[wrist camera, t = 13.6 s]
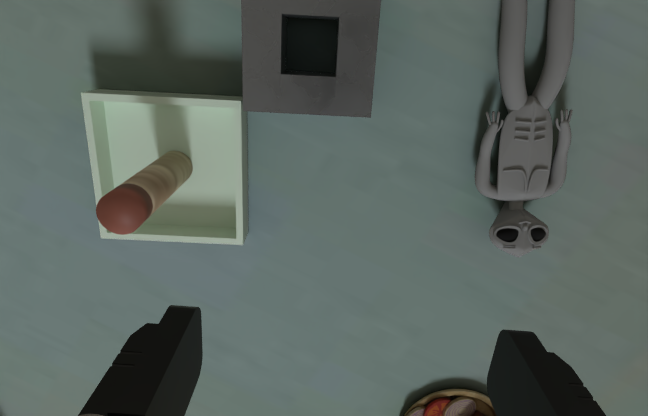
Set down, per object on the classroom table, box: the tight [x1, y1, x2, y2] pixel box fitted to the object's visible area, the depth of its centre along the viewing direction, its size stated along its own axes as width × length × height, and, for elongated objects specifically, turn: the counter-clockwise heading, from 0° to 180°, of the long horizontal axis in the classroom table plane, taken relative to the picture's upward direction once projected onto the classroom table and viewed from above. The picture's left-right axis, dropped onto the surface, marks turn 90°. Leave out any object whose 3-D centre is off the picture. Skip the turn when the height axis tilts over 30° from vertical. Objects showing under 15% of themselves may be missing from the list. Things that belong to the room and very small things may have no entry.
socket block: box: [241, 0, 381, 118], centre depth 35 cm, size 10×10×5 cm
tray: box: [81, 89, 248, 245], centre depth 40 cm, size 13×13×3 cm
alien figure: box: [475, 0, 575, 257], centre depth 38 cm, size 8×5×25 cm
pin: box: [96, 151, 193, 235], centre depth 35 cm, size 3×3×12 cm
